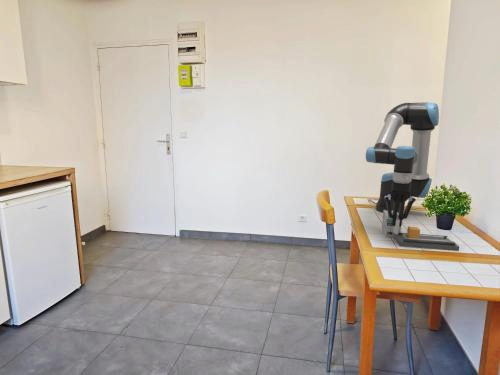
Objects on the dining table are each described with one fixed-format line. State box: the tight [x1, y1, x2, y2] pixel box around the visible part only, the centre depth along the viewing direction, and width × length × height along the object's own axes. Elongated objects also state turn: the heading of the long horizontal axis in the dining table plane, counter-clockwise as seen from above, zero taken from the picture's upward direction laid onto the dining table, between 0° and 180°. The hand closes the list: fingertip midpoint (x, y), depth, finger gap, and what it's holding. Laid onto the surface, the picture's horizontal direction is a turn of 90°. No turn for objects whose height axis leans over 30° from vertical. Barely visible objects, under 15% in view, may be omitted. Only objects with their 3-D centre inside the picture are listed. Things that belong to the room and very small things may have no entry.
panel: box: [393, 232, 460, 252], centre depth 148 cm, size 10×24×3 cm, turn 80°
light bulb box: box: [381, 210, 402, 239], centre depth 159 cm, size 11×7×11 cm, turn 169°
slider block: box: [406, 226, 421, 239], centre depth 148 cm, size 4×4×5 cm
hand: (395, 232), depth 149 cm, fingers closed
